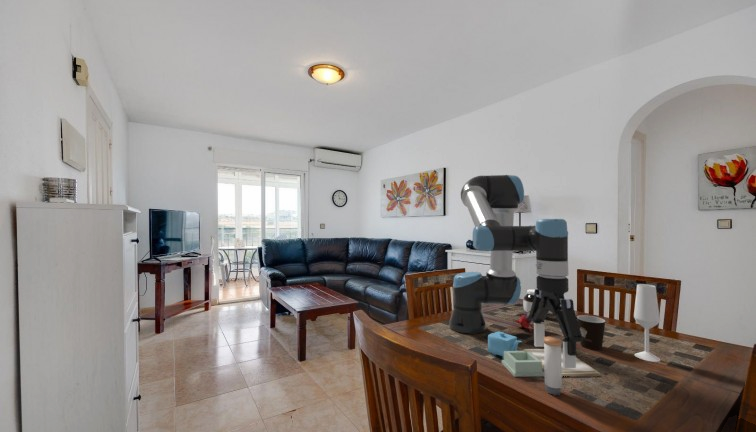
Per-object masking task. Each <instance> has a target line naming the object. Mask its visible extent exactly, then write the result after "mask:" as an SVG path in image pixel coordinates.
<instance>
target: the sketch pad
mask: <svg viewBox="0 0 756 432" xmlns="http://www.w3.org/2000/svg"><path fill="white" fill-rule="evenodd" d="M523 351H529V352H530V353H532V354H533V355H534V356H535V357H537V358H538V359H539V360H540V361H542V369H544V348H530V349H529V348H528V349H527V348H524V349H523ZM561 371H562V378H565V376H566V378H568V377H567V376H570V378H571V377H574V378H575V377H601V374H602V373H601V372H599V371H598V370H596V369H594V368H593V367H592V366H590V365H589V364H587V363H586V362H585V361H583V360H582V359H579V358H578V357H576V368H564V367H563V348H561ZM563 376H564V377H563Z"/></svg>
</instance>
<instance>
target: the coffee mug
mask: <svg viewBox="0 0 756 432" xmlns="http://www.w3.org/2000/svg"><path fill="white" fill-rule="evenodd" d="M576 318H577V321H578V325H579V328H580V331H581V335H582V338H583V341H582V342H579V343H580V346H581V347H583V348H584V349H588V350H592V351H601V350H603V349H602V348H603V343H604V334H605V328H606V327H605V326H606V320H605V319H604V318H601V317H598V316H593V315H576Z"/></svg>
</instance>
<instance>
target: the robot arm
mask: <svg viewBox="0 0 756 432" xmlns="http://www.w3.org/2000/svg"><path fill="white" fill-rule="evenodd" d="M524 198H525V188H524V185H523V181H522V179H521V178H520V177H519V176H517V175H515V174H514V175H512V174H511V175H510V174H502V175H501V174H499V175H498V174H497V175H495V174H494V175H493V174H492V175H477V176H474V177H472V178H470V179H468V181H467V182H465V183H464V185H463V186H462V188H461V191H460V199H461V202H462V204H463V205H464V206H465V207H466V208H467V209H468V210H467V211H468V212H469V215H470V217H471V220H472V222H473V226H474V227H473V230H472V245H473V248H474V249H475V250H477V251H485V252H490V258H489V259H490V261H489V263H490V264H489V265H490V266H489V268H488V269H487V270H486V274H485V275H483V274H482V273H481V272H478V271H466V272H460V273H457V274H455V276H454V277H453V284H452V288H453V293H452V294H453V295H452V296H453V297H452V298H453V303H452V304H453V309H452V311H451V316H450V318H449V328H450V329H451V330H453V331H455V332H458V333H463V334H471V335H472V334H473V335H474V334H475V335H476V334H482V333H485V332H486V331H487V323H486V320H485V317H484V313H483V310H482V307H483V304H484V305H485V304H486V305H504V306H505V305H514V304H516V303H517V302H518V301H519V299H520V297H521V292H522V286H521V284H522V283H521V280H520V278H519V277H518V276H517V274H516V272H515V270H513V252H535V255H536V256H535V259H536V263H535V267H536V274H537V276H536V288H534V290H535V293H534V300H533V303H532V307H531V310H530V314H529V317H530V318H532V321H531V322H533V326H534V328H533V341H534V342H533V346H534V347H536V348H537V347H539V348H540V347H541V348H543V347H544V337H546V336H545V335H546V334H545V331H546V329H545V324H546V323H545V318H546V317H547V315H548V313H549V312H551V314H552V315H553V316H555V318H556V321H557V323H558V326H559V328H560V330H561V333H562V335H563V339H562V349H563V367H564V368H576V358H577V343H578V342H579V343H580V342H582V341H583V338H582V335H581V331H580V328H579V325H578V321H577V318H576V317H577V315H576V313H575V311H576V310H575V306H574V305H575V304H574V301H573V299H569V298H568V299H566V298H565V294H567V293H568V292H569V290H570V289H569V278H568V276H569V259H568V258H569V254H568V253H569V243H568V242H569V230H568V225H567V221H566V219H564V218H539V219H537V220H536V222H535V225H514V222H515V221H514V216H515V211H518V209H519V205H520V204H523V202H524ZM534 313H535V314H534Z"/></svg>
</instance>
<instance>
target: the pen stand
mask: <svg viewBox="0 0 756 432" xmlns="http://www.w3.org/2000/svg"><path fill="white" fill-rule="evenodd" d="M501 364H502V365H503V366H504V367H505V368H506V370H508V372H509V373H510V374H511V375H512V376H513V377H514V378H515V377H516V378H518V377H523V378H524V377H525V378H526V377H545V372H544V371H543V367H542V361H540V360H539V359H538V358H537V357H535V356H534V355H533V354H532V353H530V352H529V351H524V350H517V351H504V359H501Z"/></svg>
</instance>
